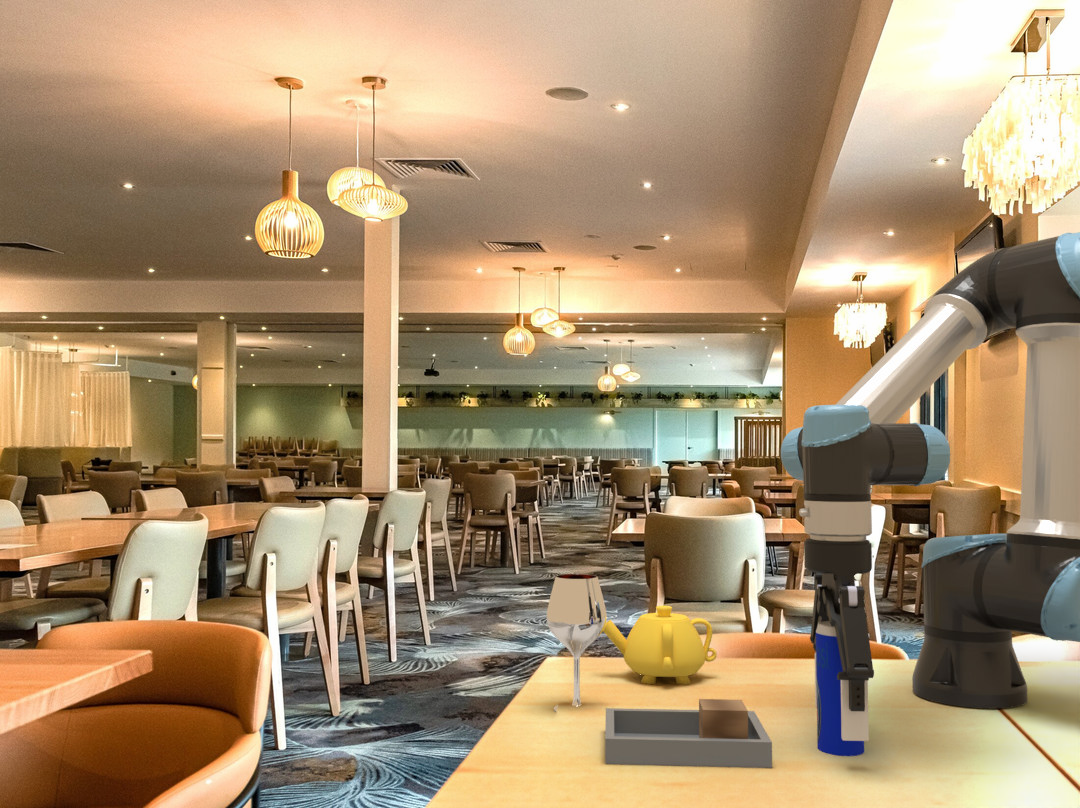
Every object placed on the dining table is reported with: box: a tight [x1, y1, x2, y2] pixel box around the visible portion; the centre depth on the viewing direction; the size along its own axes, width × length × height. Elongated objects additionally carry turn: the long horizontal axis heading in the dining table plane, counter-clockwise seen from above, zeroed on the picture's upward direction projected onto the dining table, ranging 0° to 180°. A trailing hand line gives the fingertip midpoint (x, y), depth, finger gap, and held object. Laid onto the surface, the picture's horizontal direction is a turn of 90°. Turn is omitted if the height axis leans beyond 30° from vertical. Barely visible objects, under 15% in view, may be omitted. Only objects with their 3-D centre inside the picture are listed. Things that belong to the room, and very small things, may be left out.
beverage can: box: [815, 621, 865, 757], centre depth 112 cm, size 5×5×15 cm
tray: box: [604, 707, 773, 769], centre depth 112 cm, size 18×13×4 cm
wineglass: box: [546, 573, 608, 713], centre depth 133 cm, size 8×8×18 cm
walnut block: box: [698, 698, 749, 739], centre depth 112 cm, size 5×5×5 cm
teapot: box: [602, 605, 717, 685], centre depth 152 cm, size 14×14×11 cm
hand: (840, 723), depth 112 cm, fingers open, 13 cm apart
